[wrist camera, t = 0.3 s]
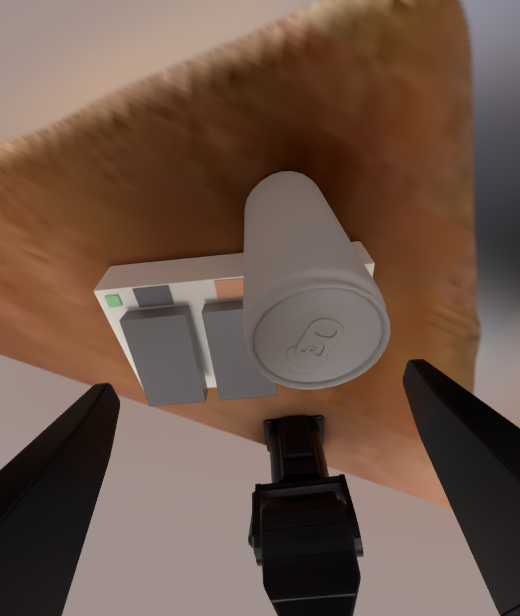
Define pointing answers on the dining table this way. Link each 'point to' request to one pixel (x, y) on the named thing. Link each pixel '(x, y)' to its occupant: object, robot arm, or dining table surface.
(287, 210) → the beverage can
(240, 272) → the rocker switch panel
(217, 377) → the block
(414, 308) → the dining table surface
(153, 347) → the block
